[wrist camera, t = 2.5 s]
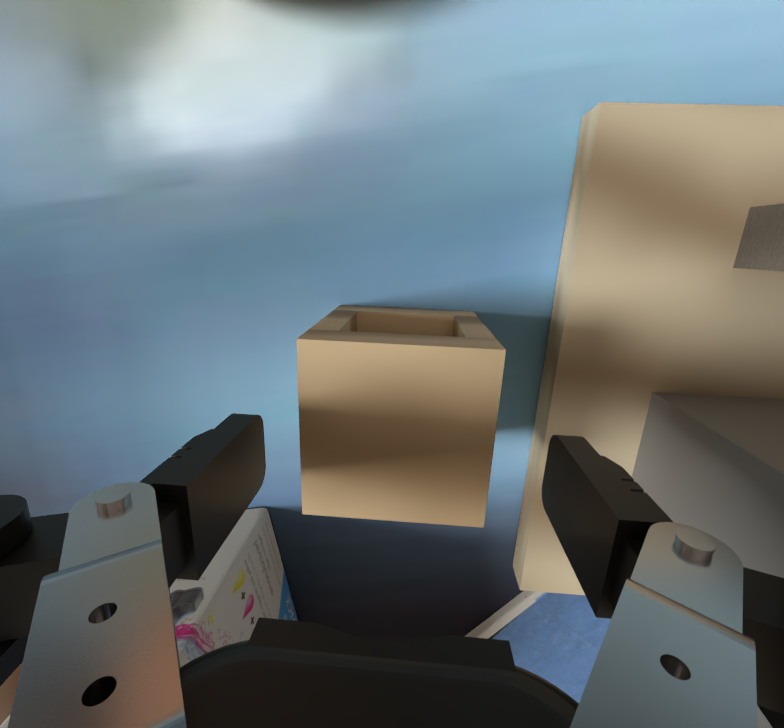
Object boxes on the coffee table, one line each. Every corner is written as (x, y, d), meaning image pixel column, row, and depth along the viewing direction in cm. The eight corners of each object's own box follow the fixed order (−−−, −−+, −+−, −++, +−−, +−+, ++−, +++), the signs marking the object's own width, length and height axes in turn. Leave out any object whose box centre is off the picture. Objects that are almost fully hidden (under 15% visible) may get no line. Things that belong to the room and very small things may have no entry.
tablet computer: (434, 649, 23) (435, 673, 21) (606, 513, 20) (619, 531, 18) (656, 808, 26) (669, 837, 24) (838, 711, 22) (863, 739, 21)
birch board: (582, 116, 14) (600, 102, 13) (1124, 129, 13) (1209, 115, 12) (512, 565, 20) (519, 590, 19) (886, 593, 19) (925, 621, 18)
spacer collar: (340, 305, 17) (296, 338, 11) (473, 311, 17) (506, 349, 10) (340, 424, 18) (302, 514, 12) (461, 432, 18) (483, 527, 12)
